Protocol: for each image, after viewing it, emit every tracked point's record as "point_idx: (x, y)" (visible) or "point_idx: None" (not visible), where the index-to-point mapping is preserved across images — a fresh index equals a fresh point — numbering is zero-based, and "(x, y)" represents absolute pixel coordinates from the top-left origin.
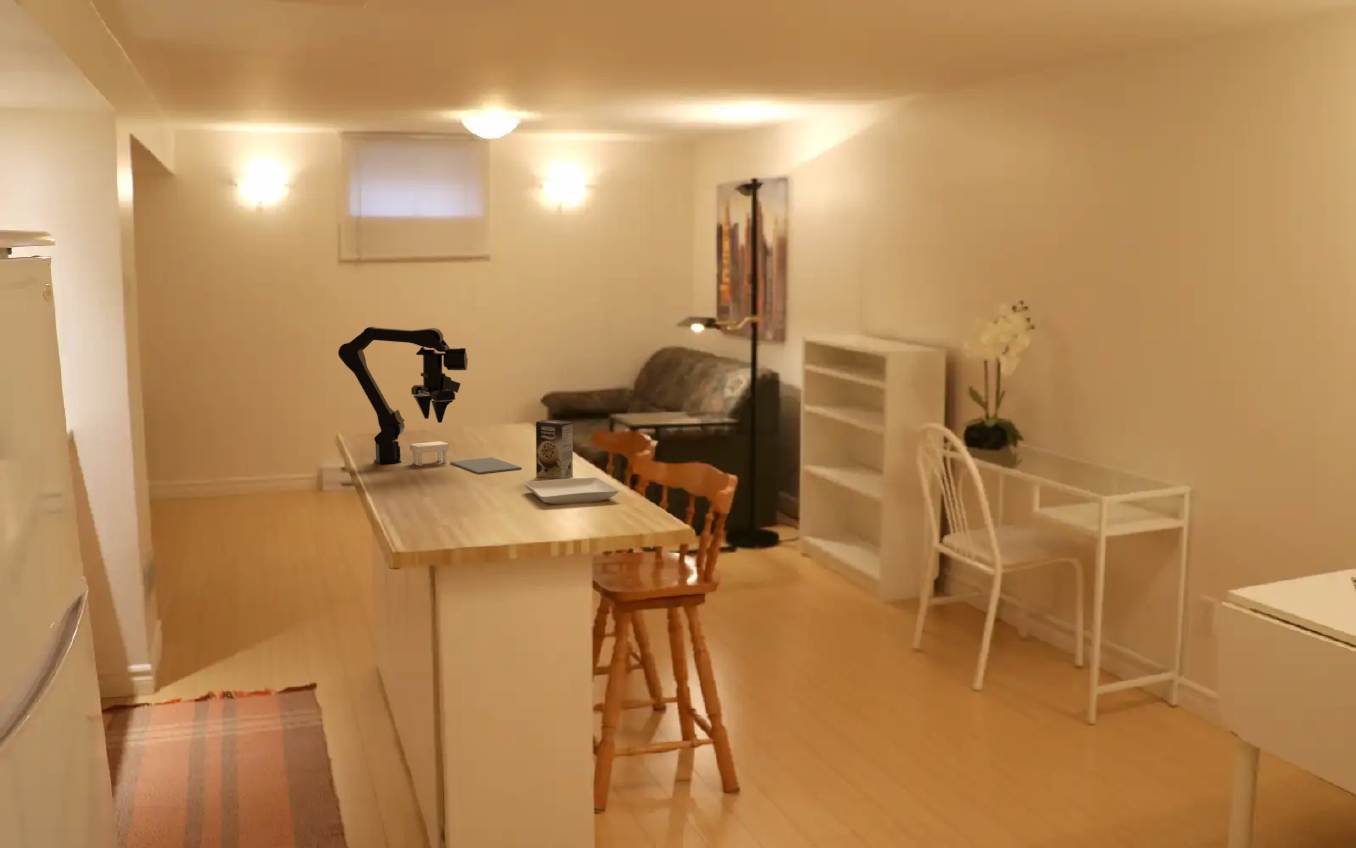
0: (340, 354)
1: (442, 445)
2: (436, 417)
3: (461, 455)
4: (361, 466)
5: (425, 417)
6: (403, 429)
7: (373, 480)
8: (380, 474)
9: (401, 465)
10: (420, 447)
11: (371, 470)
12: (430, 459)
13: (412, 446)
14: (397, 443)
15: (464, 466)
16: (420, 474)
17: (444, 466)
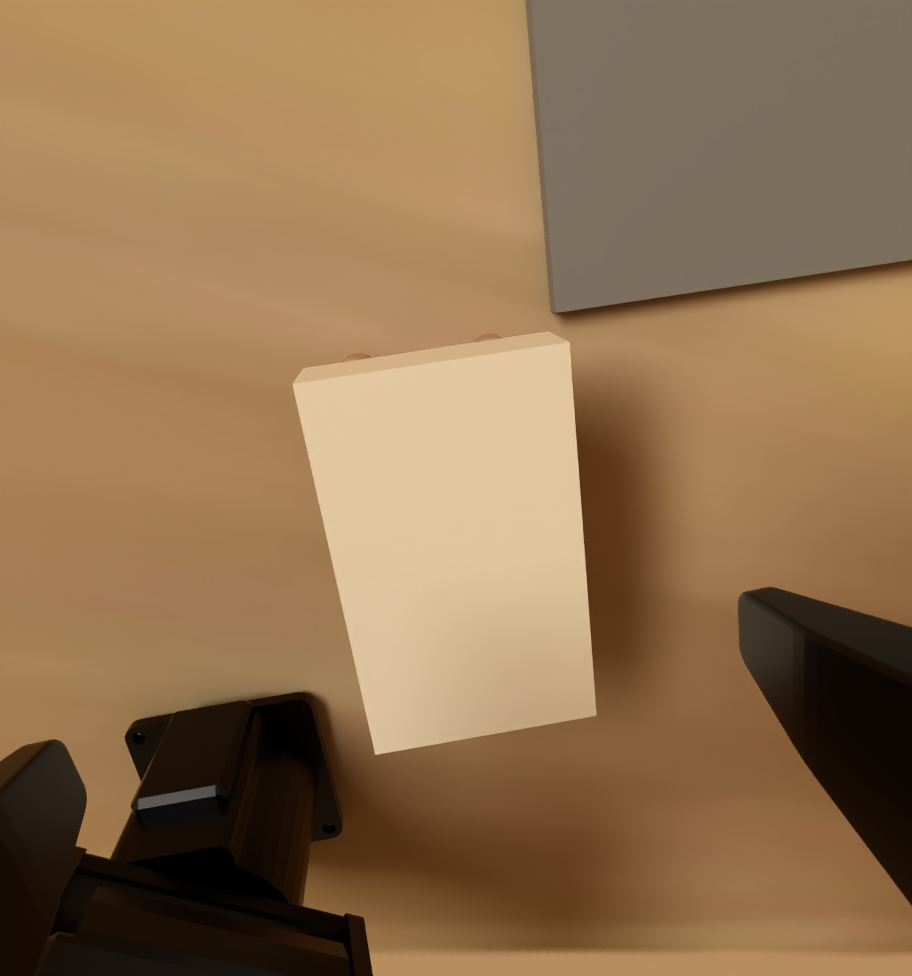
0: None
1: (573, 427)
2: (834, 774)
3: (56, 9)
4: None
5: (79, 820)
6: (125, 928)
7: (858, 908)
8: (701, 860)
9: None
10: (592, 682)
11: (533, 892)
12: (223, 429)
13: (448, 730)
14: (236, 842)
15: (868, 254)
16: None
17: (650, 400)
